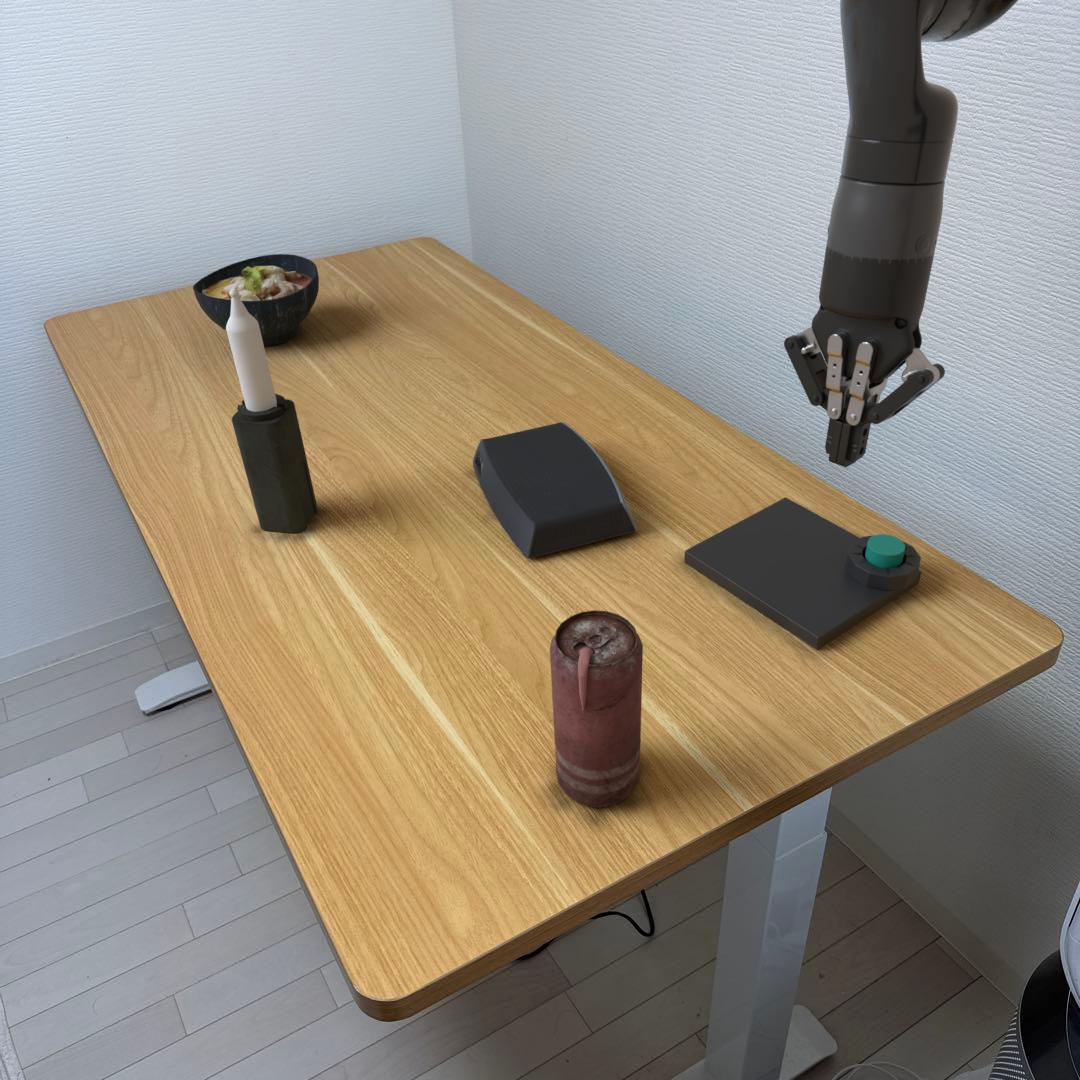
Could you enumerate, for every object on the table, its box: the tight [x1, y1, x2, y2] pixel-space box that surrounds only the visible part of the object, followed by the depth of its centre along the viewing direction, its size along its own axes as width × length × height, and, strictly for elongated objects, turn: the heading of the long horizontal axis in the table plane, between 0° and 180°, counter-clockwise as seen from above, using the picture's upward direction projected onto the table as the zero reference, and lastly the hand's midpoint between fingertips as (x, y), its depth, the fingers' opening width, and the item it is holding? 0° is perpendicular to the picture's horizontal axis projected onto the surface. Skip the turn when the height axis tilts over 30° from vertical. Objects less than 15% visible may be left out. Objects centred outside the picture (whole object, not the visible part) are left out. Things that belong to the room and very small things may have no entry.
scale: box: [683, 497, 923, 651], centre depth 88 cm, size 16×14×3 cm
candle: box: [225, 289, 319, 534], centre depth 93 cm, size 5×5×25 cm
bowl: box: [192, 253, 320, 348], centre depth 137 cm, size 17×17×10 cm
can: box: [549, 609, 644, 809], centre depth 67 cm, size 6×6×14 cm
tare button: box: [865, 533, 905, 569], centre depth 86 cm, size 3×3×2 cm
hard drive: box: [472, 421, 639, 559], centre depth 100 cm, size 13×19×4 cm
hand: (842, 461), depth 78 cm, fingers closed
